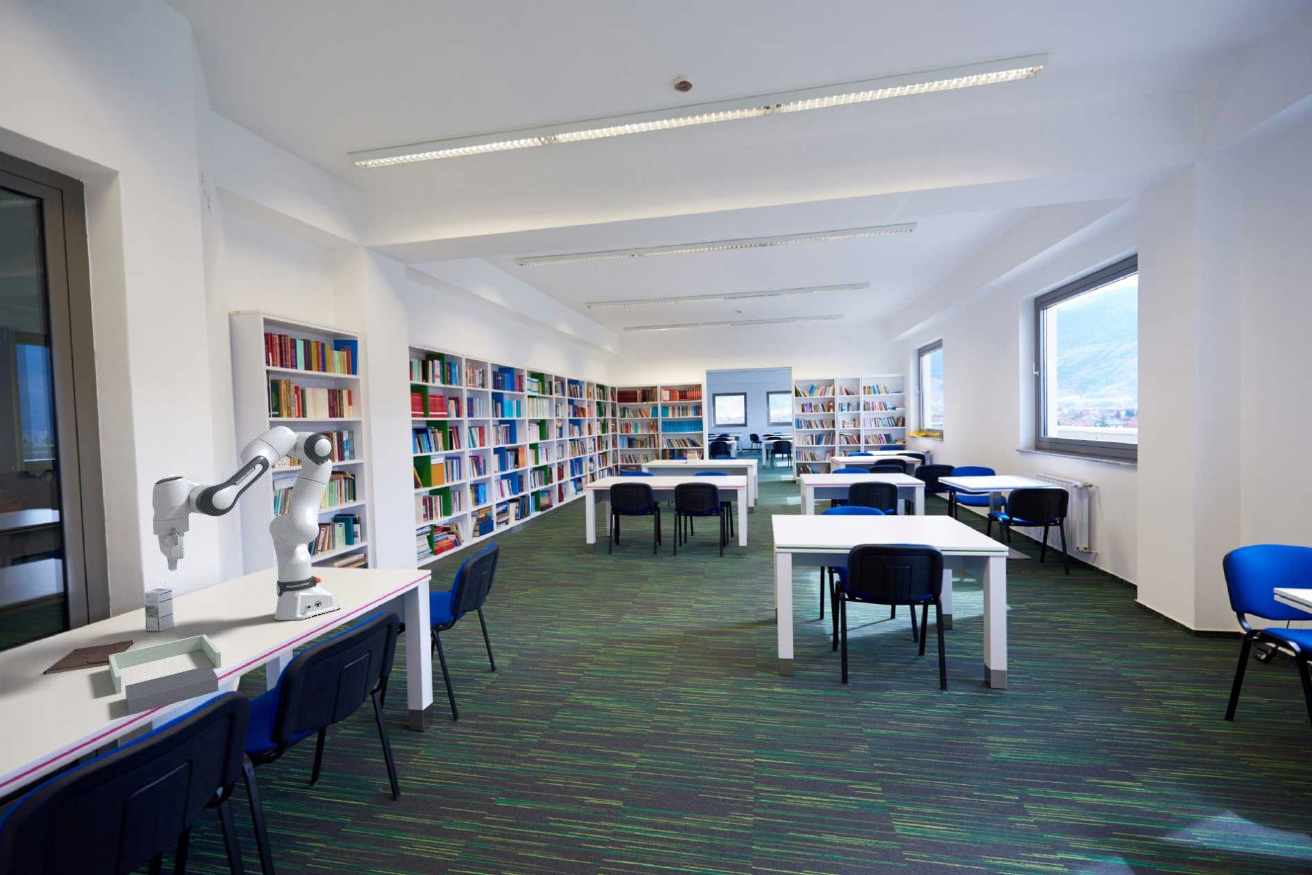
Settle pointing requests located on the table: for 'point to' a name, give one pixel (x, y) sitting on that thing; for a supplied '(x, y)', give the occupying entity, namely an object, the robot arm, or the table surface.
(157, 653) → the sage box
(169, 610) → the syrup box
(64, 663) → the notebook
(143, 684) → the cover plate
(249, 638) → the table surface
